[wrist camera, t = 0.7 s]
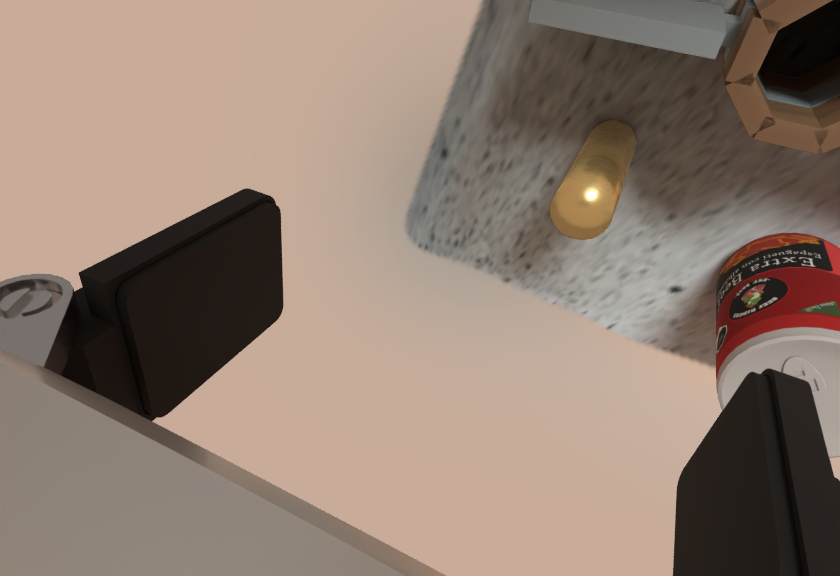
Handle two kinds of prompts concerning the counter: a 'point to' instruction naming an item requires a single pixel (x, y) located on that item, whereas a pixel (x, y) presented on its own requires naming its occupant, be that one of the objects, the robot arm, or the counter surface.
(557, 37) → the counter surface
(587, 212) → the hinge pin
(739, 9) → the hinge leaf fixed
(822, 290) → the canned food
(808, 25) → the counter surface
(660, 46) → the hinge leaf swing
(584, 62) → the counter surface
